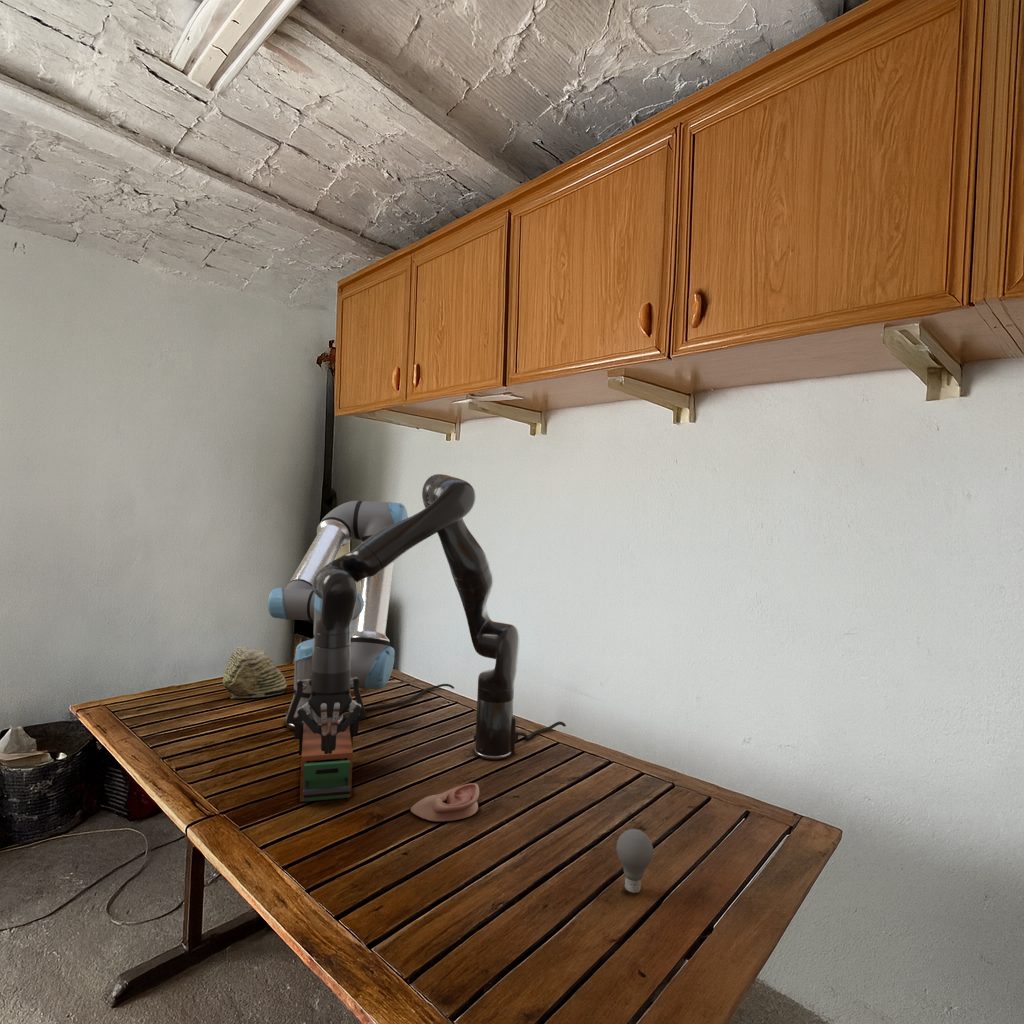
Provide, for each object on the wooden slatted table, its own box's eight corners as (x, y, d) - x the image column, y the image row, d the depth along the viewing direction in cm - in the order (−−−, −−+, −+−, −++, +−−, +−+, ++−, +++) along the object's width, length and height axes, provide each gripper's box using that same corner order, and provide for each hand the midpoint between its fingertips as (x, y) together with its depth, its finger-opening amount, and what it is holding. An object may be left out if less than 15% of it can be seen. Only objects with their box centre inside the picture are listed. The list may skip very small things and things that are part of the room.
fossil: (218, 695, 195) (220, 647, 195) (278, 685, 208) (279, 640, 207) (228, 703, 189) (230, 653, 188) (289, 692, 201) (290, 645, 201)
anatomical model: (405, 797, 126) (424, 773, 137) (404, 817, 126) (424, 792, 138) (469, 807, 124) (484, 782, 135) (468, 827, 124) (483, 800, 135)
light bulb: (610, 879, 108) (613, 822, 108) (644, 879, 109) (647, 822, 109) (619, 902, 102) (622, 840, 102) (655, 901, 103) (658, 840, 103)
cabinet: (351, 797, 134) (352, 752, 134) (299, 801, 131) (301, 756, 131) (347, 761, 152) (348, 721, 152) (302, 764, 149) (303, 724, 149)
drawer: (350, 811, 126) (351, 774, 126) (302, 815, 124) (303, 778, 123) (345, 763, 148) (346, 732, 148) (304, 766, 146) (305, 734, 146)
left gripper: (275, 661, 139) (272, 761, 140) (381, 658, 146) (377, 753, 146) (277, 653, 146) (274, 748, 147) (378, 650, 153) (374, 741, 153)
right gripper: (296, 673, 122) (292, 762, 122) (366, 670, 126) (363, 757, 126) (297, 663, 129) (294, 747, 129) (363, 661, 133) (360, 743, 133)
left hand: (325, 750), depth 146 cm, fingers closed on cabinet, 10 cm apart
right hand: (328, 752), depth 128 cm, fingers closed
